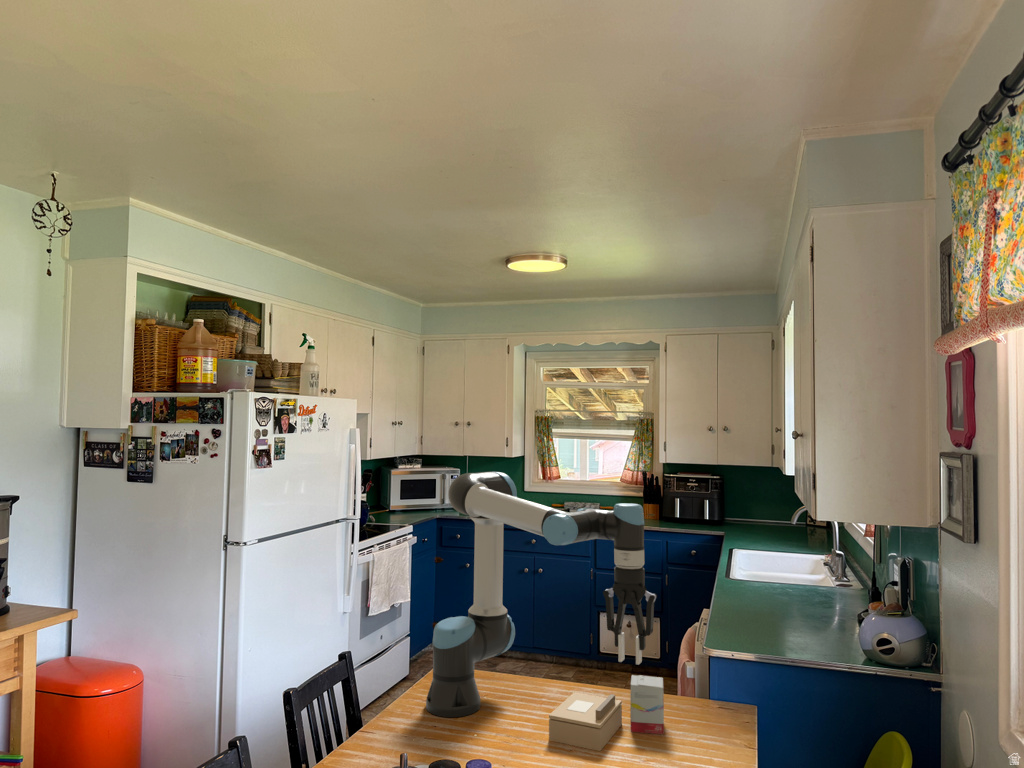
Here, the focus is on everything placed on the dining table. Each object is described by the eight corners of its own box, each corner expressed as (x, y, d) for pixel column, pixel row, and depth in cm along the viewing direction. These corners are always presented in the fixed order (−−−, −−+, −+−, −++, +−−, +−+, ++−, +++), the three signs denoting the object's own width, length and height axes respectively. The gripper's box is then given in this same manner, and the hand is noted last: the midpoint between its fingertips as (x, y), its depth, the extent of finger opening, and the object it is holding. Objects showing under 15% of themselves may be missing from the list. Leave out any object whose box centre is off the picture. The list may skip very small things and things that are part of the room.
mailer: (548, 740, 173) (548, 719, 173) (574, 715, 188) (574, 696, 189) (600, 751, 167) (600, 729, 167) (621, 724, 182) (621, 704, 183)
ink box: (664, 735, 176) (663, 686, 177) (630, 732, 178) (629, 684, 179) (663, 721, 185) (663, 675, 186) (631, 718, 186) (630, 673, 187)
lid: (548, 718, 173) (548, 705, 173) (574, 695, 189) (574, 683, 189) (600, 728, 167) (600, 715, 168) (621, 703, 183) (621, 691, 183)
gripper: (592, 565, 175) (593, 661, 173) (658, 571, 168) (659, 671, 166) (602, 560, 182) (602, 652, 180) (666, 566, 174) (667, 662, 173)
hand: (630, 661), depth 173 cm, fingers open, 4 cm apart
